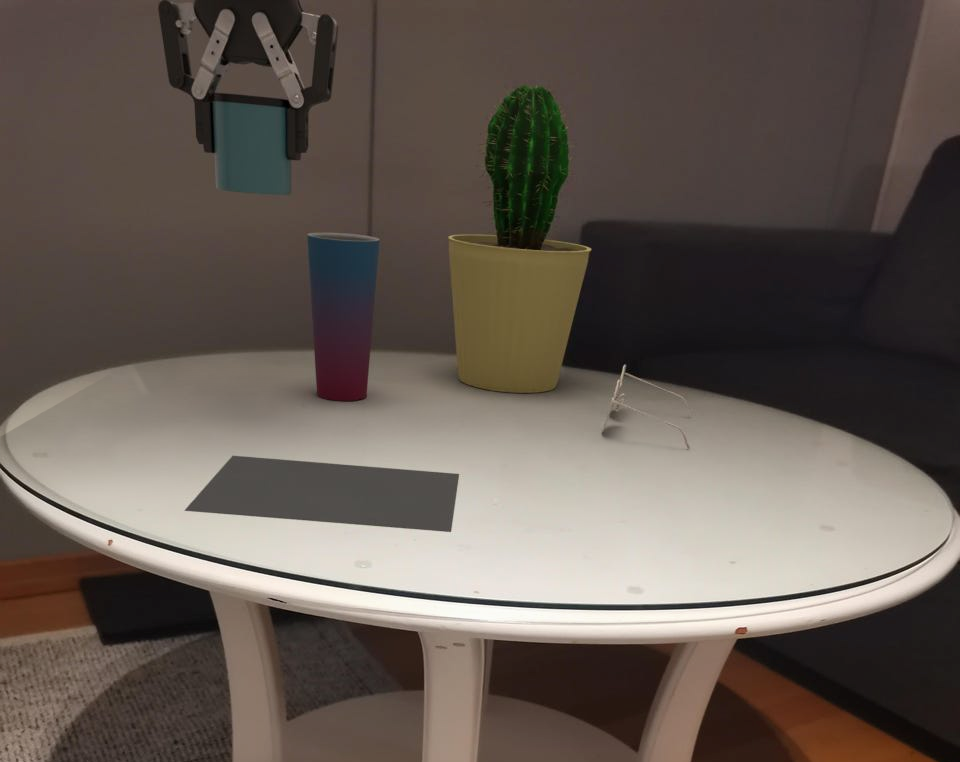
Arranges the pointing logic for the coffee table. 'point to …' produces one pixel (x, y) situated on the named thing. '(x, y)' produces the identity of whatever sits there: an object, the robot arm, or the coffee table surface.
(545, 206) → the potted cactus
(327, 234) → the cup
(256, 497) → the cloth
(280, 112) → the pot
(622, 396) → the sunglasses
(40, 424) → the coffee table surface
